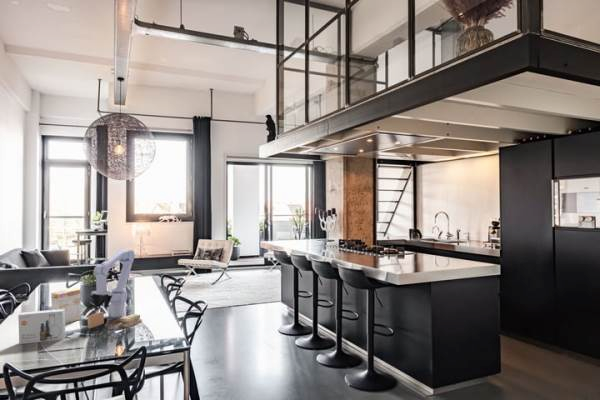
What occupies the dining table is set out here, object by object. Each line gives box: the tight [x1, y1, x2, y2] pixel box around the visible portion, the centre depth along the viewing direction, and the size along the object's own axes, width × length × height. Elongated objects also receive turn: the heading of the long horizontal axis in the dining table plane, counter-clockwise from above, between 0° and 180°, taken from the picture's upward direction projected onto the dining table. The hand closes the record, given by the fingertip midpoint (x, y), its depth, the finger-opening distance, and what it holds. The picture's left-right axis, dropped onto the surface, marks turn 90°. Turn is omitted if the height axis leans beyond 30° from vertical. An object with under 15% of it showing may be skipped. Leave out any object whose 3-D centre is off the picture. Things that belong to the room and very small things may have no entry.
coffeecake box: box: [50, 288, 82, 325], centre depth 259 cm, size 15×7×20 cm, turn 149°
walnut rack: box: [105, 317, 143, 328], centre depth 247 cm, size 19×12×2 cm, turn 70°
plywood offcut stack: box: [119, 313, 143, 328], centre depth 245 cm, size 7×11×4 cm, turn 160°
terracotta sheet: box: [87, 311, 105, 329], centre depth 244 cm, size 2×10×8 cm, turn 160°
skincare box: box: [18, 309, 66, 345], centre depth 222 cm, size 21×6×16 cm, turn 106°
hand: (101, 306), depth 251 cm, fingers open, 7 cm apart
